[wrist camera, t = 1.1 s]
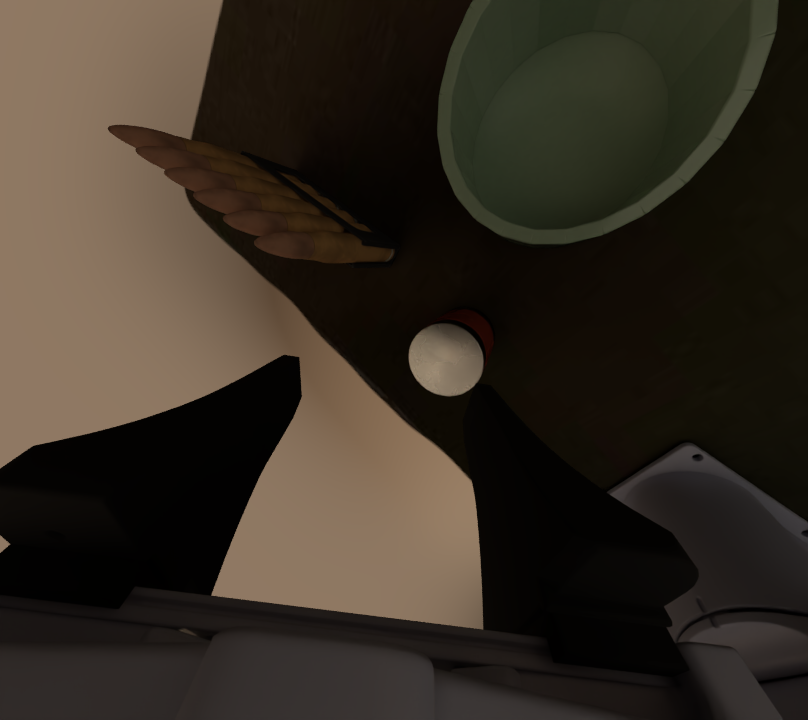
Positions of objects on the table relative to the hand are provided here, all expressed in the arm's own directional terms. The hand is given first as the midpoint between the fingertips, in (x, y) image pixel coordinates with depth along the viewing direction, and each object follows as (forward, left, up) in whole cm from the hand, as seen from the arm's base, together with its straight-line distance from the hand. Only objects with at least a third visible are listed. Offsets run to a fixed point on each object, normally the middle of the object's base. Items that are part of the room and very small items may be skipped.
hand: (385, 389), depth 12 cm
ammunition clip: (+12, -2, -12) cm, 17 cm away
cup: (+1, -12, -11) cm, 17 cm away
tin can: (-1, 0, -12) cm, 12 cm away
